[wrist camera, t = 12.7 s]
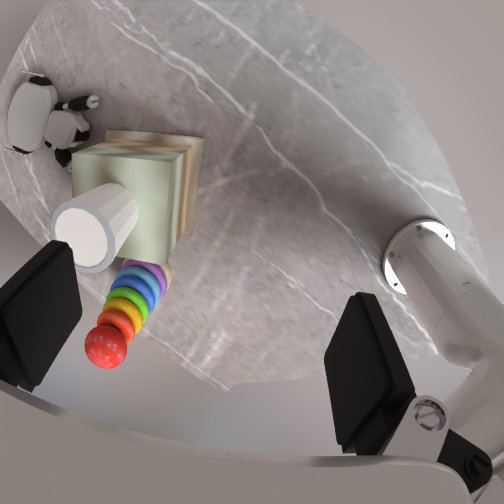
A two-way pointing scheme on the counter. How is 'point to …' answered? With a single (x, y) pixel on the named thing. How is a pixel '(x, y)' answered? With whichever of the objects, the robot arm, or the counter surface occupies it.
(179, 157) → the patterned box
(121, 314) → the stacking toy
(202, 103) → the counter surface
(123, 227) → the shot glass
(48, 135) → the robot toy
